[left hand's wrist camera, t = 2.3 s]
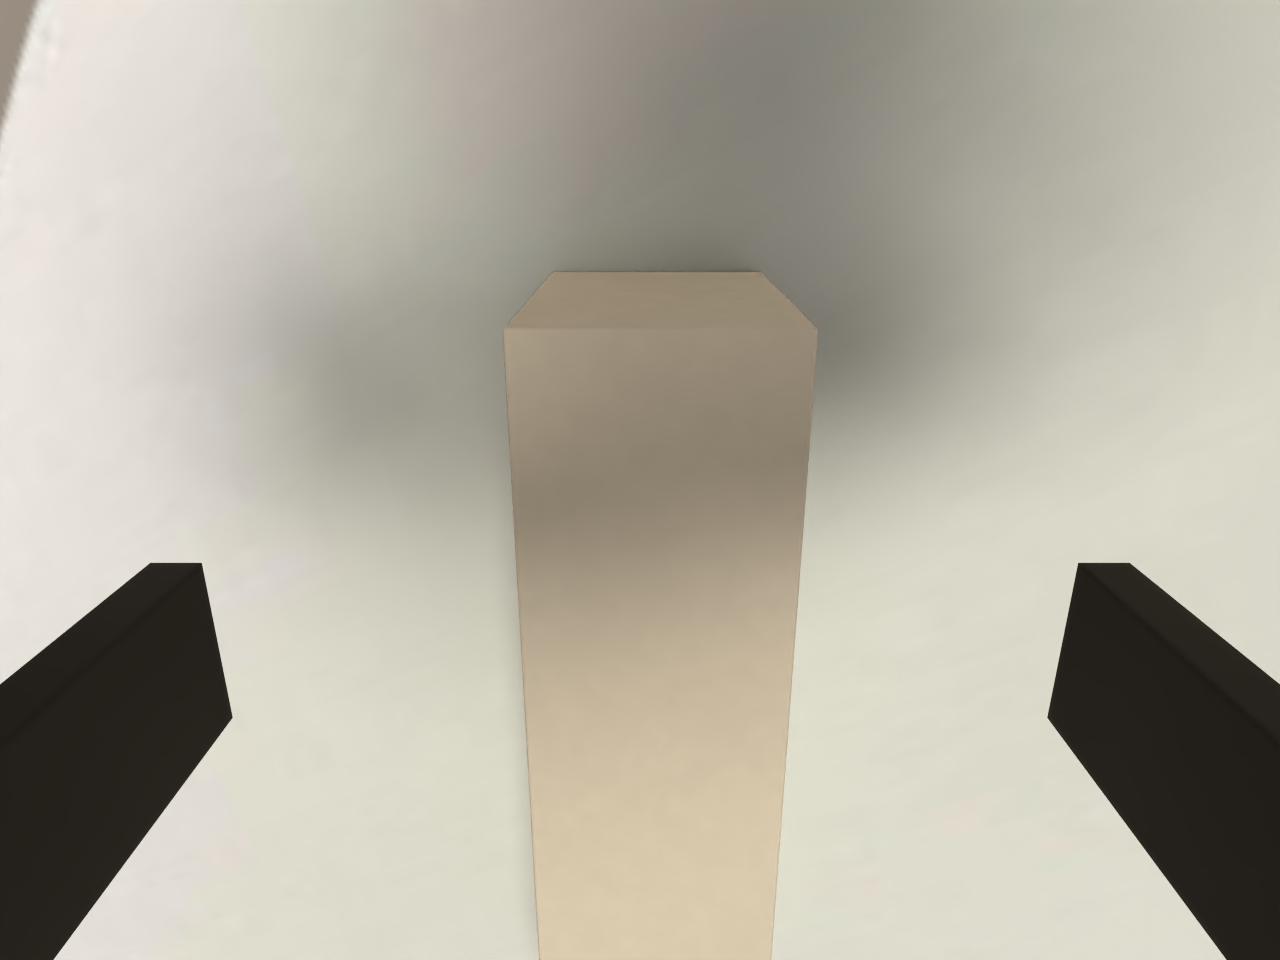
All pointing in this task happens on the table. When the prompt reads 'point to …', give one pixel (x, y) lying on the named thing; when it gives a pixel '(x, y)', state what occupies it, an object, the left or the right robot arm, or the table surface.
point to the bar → (658, 602)
